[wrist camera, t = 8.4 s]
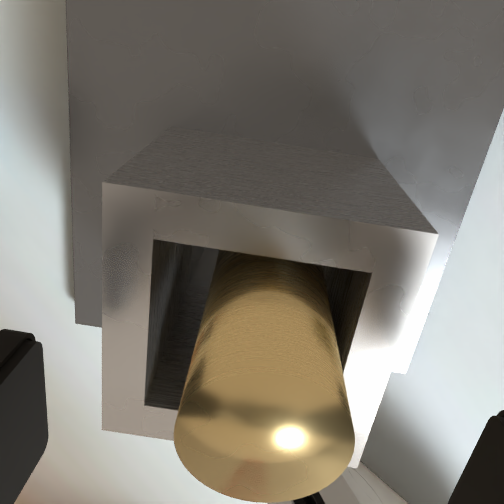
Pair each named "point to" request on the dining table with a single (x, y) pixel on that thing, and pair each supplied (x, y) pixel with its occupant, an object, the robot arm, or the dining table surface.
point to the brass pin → (265, 384)
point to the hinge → (353, 490)
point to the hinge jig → (270, 171)
